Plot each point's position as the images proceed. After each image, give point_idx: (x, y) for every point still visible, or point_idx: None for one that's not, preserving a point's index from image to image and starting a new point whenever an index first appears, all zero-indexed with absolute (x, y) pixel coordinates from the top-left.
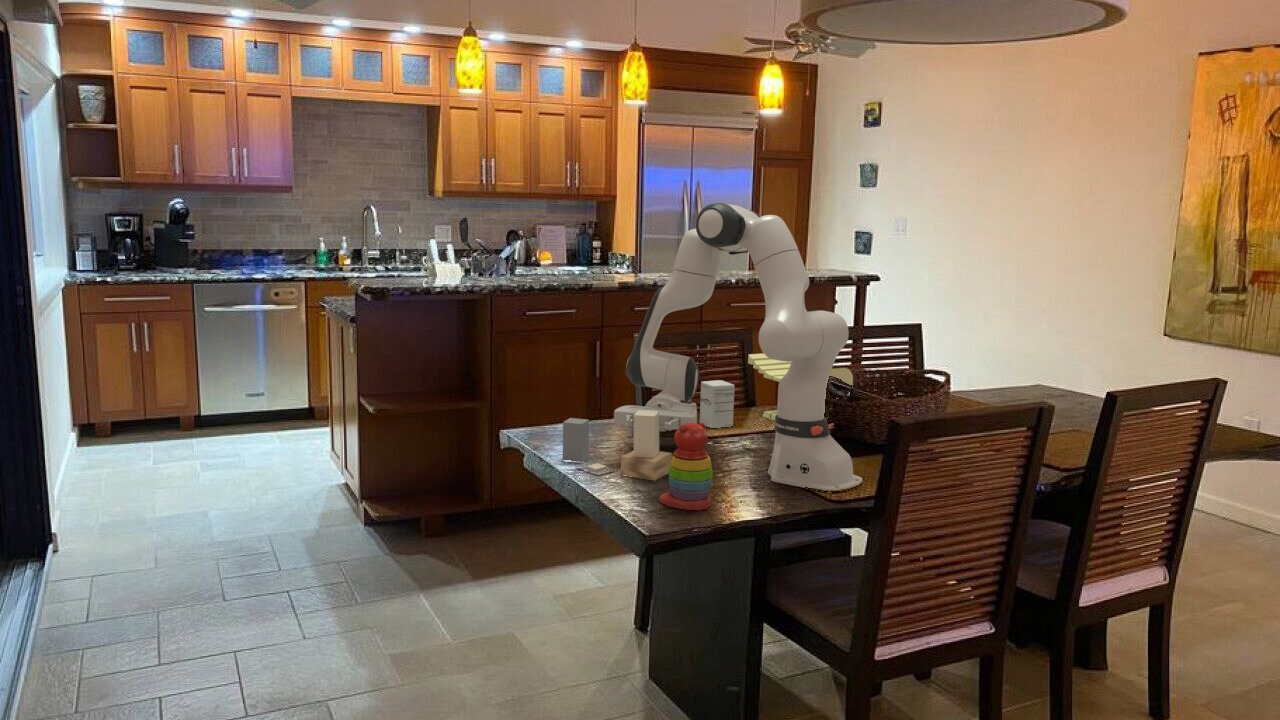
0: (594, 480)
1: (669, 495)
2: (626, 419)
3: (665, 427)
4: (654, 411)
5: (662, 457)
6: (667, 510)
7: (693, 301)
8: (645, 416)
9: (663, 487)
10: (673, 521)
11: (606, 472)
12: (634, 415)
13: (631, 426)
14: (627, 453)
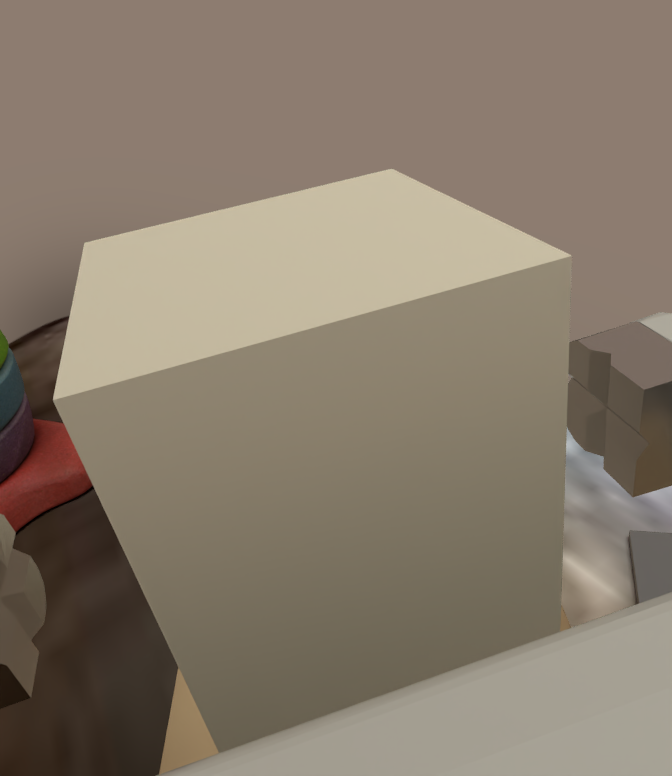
0: (567, 480)
1: (43, 425)
2: (662, 314)
3: (13, 561)
4: (170, 344)
5: (178, 733)
6: (58, 421)
7: None
8: (225, 218)
9: (143, 616)
10: (25, 380)
11: (638, 593)
12: (378, 176)
13: (571, 423)
14: (567, 626)
